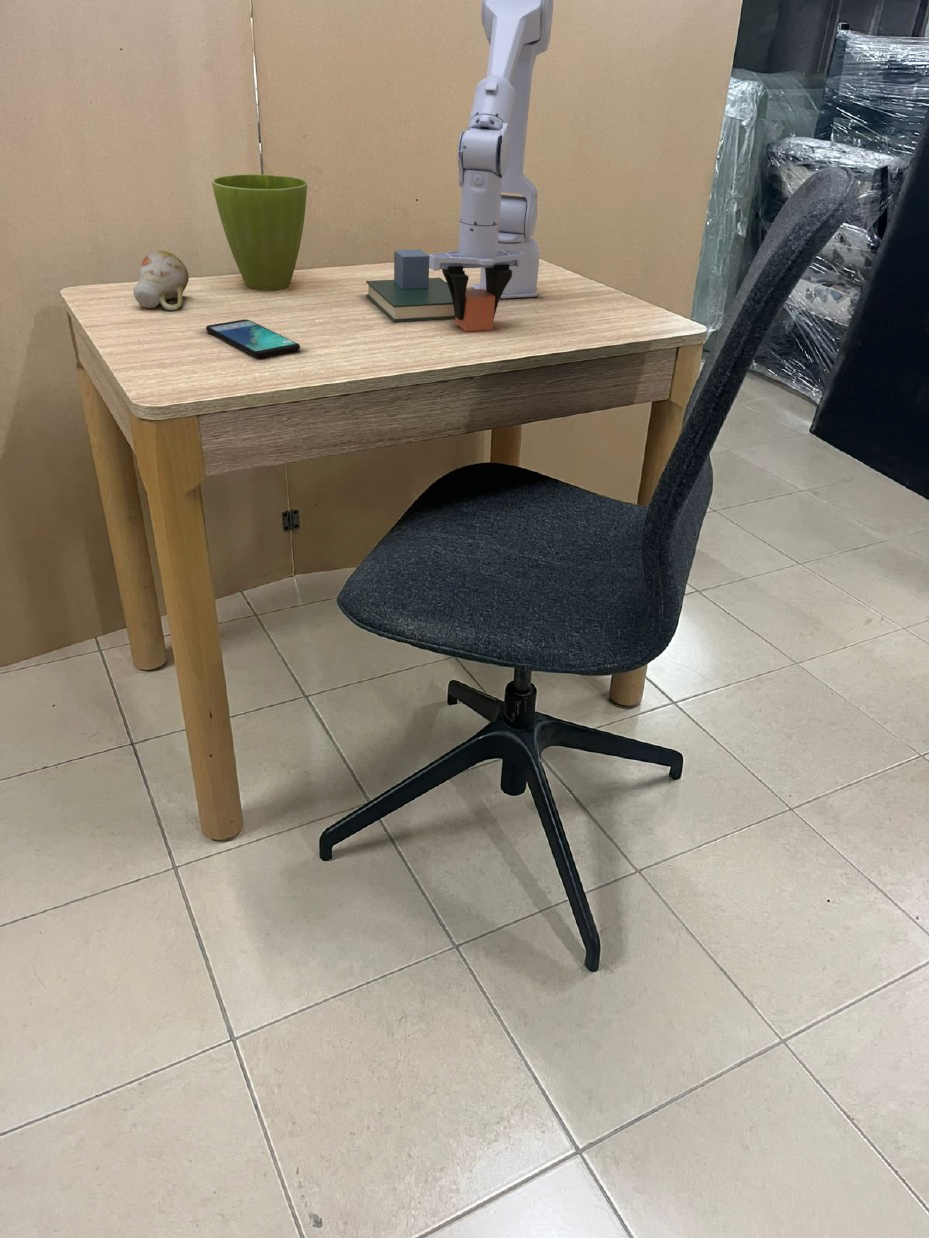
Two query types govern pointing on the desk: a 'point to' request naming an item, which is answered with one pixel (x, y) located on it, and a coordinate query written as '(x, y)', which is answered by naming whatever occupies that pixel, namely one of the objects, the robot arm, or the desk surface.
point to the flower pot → (262, 225)
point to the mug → (161, 280)
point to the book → (412, 300)
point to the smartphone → (253, 338)
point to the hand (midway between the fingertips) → (474, 317)
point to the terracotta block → (477, 310)
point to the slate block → (411, 269)
